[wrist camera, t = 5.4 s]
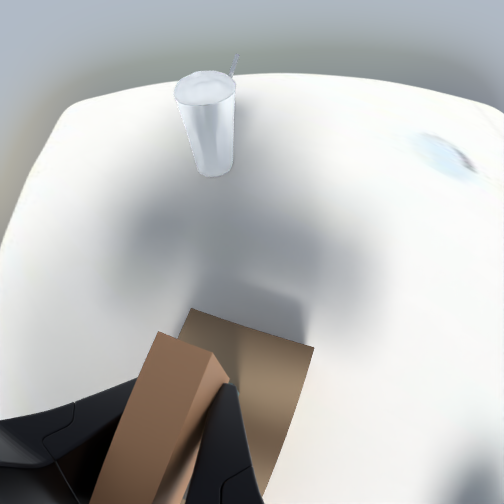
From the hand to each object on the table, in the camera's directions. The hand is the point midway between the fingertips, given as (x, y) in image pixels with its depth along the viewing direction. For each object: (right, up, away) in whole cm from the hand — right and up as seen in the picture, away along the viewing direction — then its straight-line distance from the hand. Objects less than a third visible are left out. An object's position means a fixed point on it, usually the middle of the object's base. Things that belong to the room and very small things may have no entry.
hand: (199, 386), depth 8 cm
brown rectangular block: (-1, -2, 0) cm, 2 cm away
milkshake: (-1, +12, +18) cm, 22 cm away
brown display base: (0, -6, +7) cm, 10 cm away
